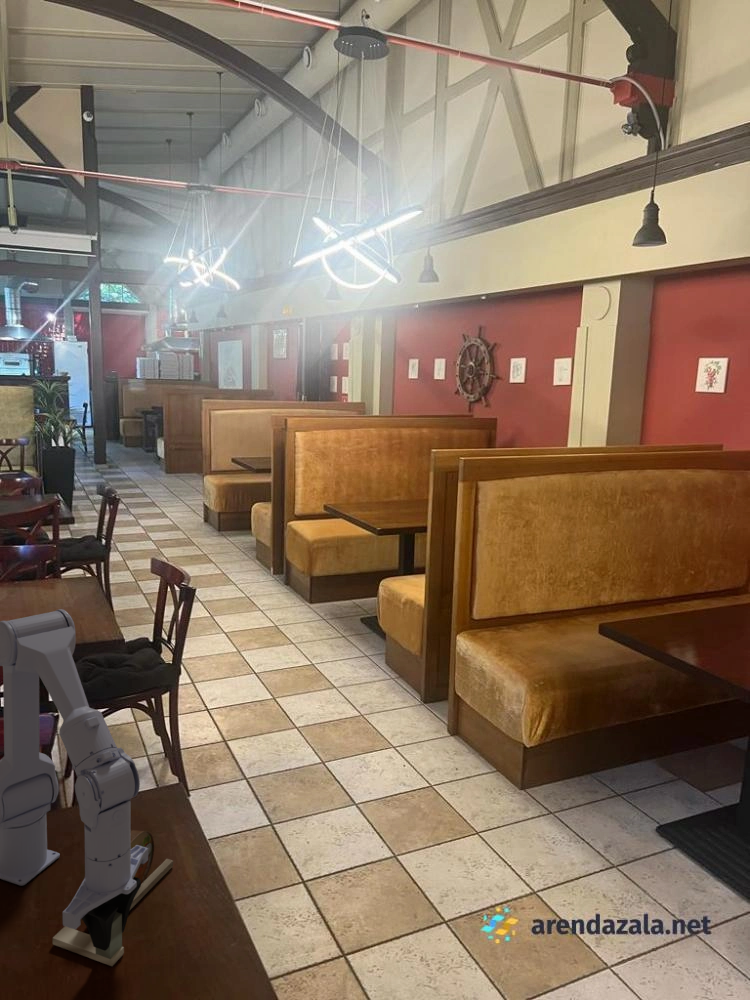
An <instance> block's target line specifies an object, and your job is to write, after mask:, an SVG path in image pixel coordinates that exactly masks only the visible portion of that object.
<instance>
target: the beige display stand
mask: <svg viewBox="0 0 750 1000" xmlns="http://www.w3.org/2000/svg"><path fill="white" fill-rule="evenodd" d="M173 867H174V860H172V859H170V858H165V860H164V861H163V862H162V863H161V864H160V865H159V866H158V867H157V868H156V869H155V870H153V872H152V873H151V874H150V875H148V876H147V877H146V879H145V881H144V882H143V883H142V884H141V887H140V888H139V890H138V892H137V893H136V895H135V897H134V900H133V902H132V905H131V907H130V911H131V910H132V909H133V908H134V907H135V905H137V904H138V903H139V902H140V901H141V899H143V897H144V896H145V895H146V894H147V893H148V892H149V891H150V890H152V888H154V886H156V884H157V883H158V882H159V881H160V880H161V879H162V878H163V877H164V876H165V875H166V874H167V873H168V872H169V871H170V870H171V868H173ZM52 945H53V946H56V947H59V948H61V949H63V950H68V951H69V952H72V953H75V954H78V955H81V956H83V957H86V958H89V959H91V960H94V961H97V962H100V963H102V964H105V965H107V966H110V967H113V966H114V965H115V964H116V963H117V962H118V960H120V959H121V958H122V956H124V954H125V947H124V946H123V933H122V914H121V913H118V912H116V913H115V916H114V919H113V923H112V929H111V941H110V945H109V948H108V949H107V950H105V951H104V950H101V949H99V948H96V947H94V946H93V943H92V940H91V937H90V934H89V933H86V932H84V931H83V932H82V931H80V930H77V929H72V928H69V927H66V926H63V928H61V929H60V930H59V931H58V932H57V933H56V934H55V935H54V936H53V937H52Z"/></svg>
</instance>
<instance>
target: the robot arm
mask: <svg viewBox="0 0 750 1000" xmlns="http://www.w3.org/2000/svg"><path fill="white" fill-rule="evenodd" d="M76 637H77V636H76V627H75V621H74V620H73V618H72V616H71V614H69V613H68V611H66V610H65V609H64V608H60V609H56V610H54V611H50V612H49V611H48V612H44V613H39V614H34V615H30V616H26V617H21V618H15V619H10V620H0V667H2V673H3V674H2V675H3V677H2V678H3V680H2V682H3V683H2V684H3V686H2V687H3V689H2V690H3V745H4V746H3V748H4V749H3V751H4V753H3V754H4V755H3V757H2V758H1V759H0V879H1V880H3V881H6V882H9V883H12V884H15V885H18V886H20V887H21V886H22V887H23V886H25V885H27V883H29V882H30V881H31V880H33V879H34V878H35V877H36V876H38V874H40V873H41V872H42V871H44V870H45V869H46V868H47V867H48V866H50V865H51V864H53V863H54V862H55V861H56V860H57V859H59V858H60V855H61V853H59V852H57V851H54V850H51V849H48V829H47V828H48V827H47V825H48V823H47V820H48V819H47V813H48V812H49V811H51V803H52V804H53V803H55V802H56V800H57V797H58V795H59V788H60V787H59V781H58V778H57V774H56V773H57V772H56V766H55V763H54V762H53V760H52V759H51V758H50V757H49V755H47V754H45V753H42V752H40V681H42V683H43V685H44V686H45V687H44V688H45V689H46V691H47V692H48V694H49V696H50V698H51V700H52V702H53V703H54V705H55V707H56V709H57V711H58V713H59V715H60V716H61V719H62V723H61V725H60V728H59V731H58V733H59V736H60V739H61V741H62V744H63V746H64V748H65V751H66V753H67V756H68V758H69V760H70V762H71V765H72V767H73V769H74V771H75V774H76V777H77V778H76V780H75V783H74V792H75V795H76V800H77V803H78V807H79V816H80V820H81V822H83V823H84V826H83V827H84V878H83V880H82V882H81V884H80V886H79V887H78V889H77V891H76V892H75V895H74V896H73V898H72V899H71V901H70V903H69V904H68V906H67V907H66V908H65V909H64V910H63V911H62V926H63V927H65V926H66V927H69V928H72V929H75V930H77V929H78V928H79V927H80V926H81V922H82V921H83V924H84V925H85V927H86V929H87V930H88V934H89V935H90V937H91V940H92V943H93V946H94V947H96V948H99V949H101V950H104V951H105V950H107V949H108V948H109V945H110V941H111V929H112V923H113V919H114V916H115V913H116V912H118V913H121V914H122V934H123V933H124V931H125V929H126V925H127V922H128V921H127V920H128V917H129V913H130V912H131V910H130V907H131V905H132V902H133V900H134V897H135V895H136V893H137V892H138V890H139V888H140V887H141V880H140V879H139V878H137V877H134V876H135V874H136V872H137V870H138V868H139V865H140V863H141V864H144V863H146V862H147V861H148V848H146V847H143V846H139V845H136V846H135V847H133V848H132V849H131V830H132V829H131V828H132V826H131V823H132V822H131V819H132V818H131V799H132V798H135V797H136V796H137V795H138V794H139V791H140V786H141V784H140V776H139V772H138V769H137V766H136V764H135V761H134V759H133V758H132V757H131V756H130V755H128V753H126V752H125V750H124V749H123V748H122V747H118V746H117V743H116V742H115V740H114V738H113V735H112V734H111V731H110V729H109V726H108V725H107V722H106V720H105V718H104V716H103V713H102V712H101V711H100V710H98V709H95V708H91V707H90V705H89V702H88V699H87V696H86V694H85V690H84V688H83V685H82V682H81V681H82V680H81V679H80V675H79V673H78V669H77V665H76V663H75V661H74V657H73V654H74V652H75V649H76V642H77V641H76V640H77V638H76ZM40 679H41V680H40ZM81 920H82V921H81Z"/></svg>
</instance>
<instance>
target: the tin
mask: <svg viewBox="0 0 750 1000" xmlns="http://www.w3.org/2000/svg"><path fill="white" fill-rule="evenodd" d="M136 845H139V846H143V847H146V848H148V861H147V862H146V863H144V864H141V863H140V865H139V868H138V870H137V872H136V874H135V876H134V877H137V878H139V879H140V880H141V884H142V883H143V882H144V881H145V880H146V879H147V878H148V876H149V872H150V871H151V868H152V864H153V859H154V854H155V853H154V852H155V841H154V837H153V835H152V833H151V832H150V831H148V830H136V829H131V849H132V848H133V847H135V846H136Z"/></svg>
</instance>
